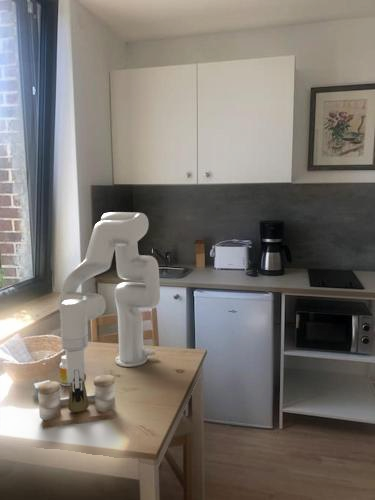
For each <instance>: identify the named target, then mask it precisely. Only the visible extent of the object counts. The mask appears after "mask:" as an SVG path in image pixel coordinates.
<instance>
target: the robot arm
mask: <svg viewBox="0 0 375 500" xmlns="http://www.w3.org/2000/svg"><path fill="white" fill-rule="evenodd" d="M149 225H150V224H149V218H148V216H147V214H145V213H144V212H143V213H142V212H134V211H133V212H130V211H129V212H128V211H127V212H124V211H121V212H120V211H118V212H117V211H114V212H112V211H111V212H105V213H103V214H102V216H101V218H100V221H98V222H97V223H95V225H94V226H93V229H92V234H91V236H90V240H89V243H88V246H87V250H86V254H85V258H84V260H83V261H82V262H81V263H79V265H77V266H75V268H74V269H72V271H71V272H70V273H69V274H68V275H67V276H66V278H65V280H64V282H63V283H62V287H61V290H60V294H59V299H58V310H59V316H60V317H59V318H60V320H59V321H60V334H61V335H60V336H61V338H60V339H61V349H63V350H64V351H65V355H66V370H67V383H68V384H69V383H72V386H73V391H72V401H73V402H74V398H75V401H76V402H80V401H81V397H82V399H83V402H84V396H83V389H82V382H83V381H84V374H86V373H85V372H86V371H85V369H86V367H85V366H86V365H85V361H86V357H85V354H86V353H85V349H86V348H88V346H89V329H88V328H89V327H88V321H91V320H94V319H97V318H99V317H101V316H102V315H103V314H104V313H105V311H106V307H107V301H106V298H105V297H103V295H101V294H99V293H91V292H89V293H88V292H77V291H78V289H79V287H80V285H82V284H84V283H83V282H85V281H87V280H88V279H91V278H93V277H95V276H96V275H99V274H102V273H105V272H107V271H108V270H109V269H110V268H111V266H112V261H113V257H114V253H115V263H116V264H115V265H116V266H115V267H116V273H117V276H118V278H120V279H122V280H127V281H123V282H120V283H118V284H117V285H116V286H115V289H114V293H113V295H114V300H115V306H116V312H117V327H118V328H117V331H118V335H117V336H118V355H116V357H115V361H114V362H115V364H117V365H118V366H120V367H124V368H126V367H127V368H133V367H138V366H143V365H144V364H145V363H147V362H148V357H149V356H155V355H156V350H155V349H152V348H147V349H146V348H144V327H143V325H144V322H143V319H144V318H143V315H142V313H141V311H140V309H155V308H156V307H158V305H159V304H160V301H161V300H160V299H161V288H160V287H161V286H160V285H161V284H160V270H159V269H160V267H159V263H158V261H157V259H156V257H154V256H151V255H147V254H146V255H145V254H144V255H142V254H141V255H140V253H139V249H138V247H139V246H138V242H139V241H140V240H141V239H142V238H143V237H145V235H146V234H147V232H148V230H149ZM128 280H129V281H128ZM133 281H135V282H133ZM137 281H143V282H137ZM139 308H140V309H139ZM73 378H74V380H75V381H73ZM79 379H81V380H80V381H79ZM79 383H80V385H79ZM74 384H75V385H74Z"/></svg>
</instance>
